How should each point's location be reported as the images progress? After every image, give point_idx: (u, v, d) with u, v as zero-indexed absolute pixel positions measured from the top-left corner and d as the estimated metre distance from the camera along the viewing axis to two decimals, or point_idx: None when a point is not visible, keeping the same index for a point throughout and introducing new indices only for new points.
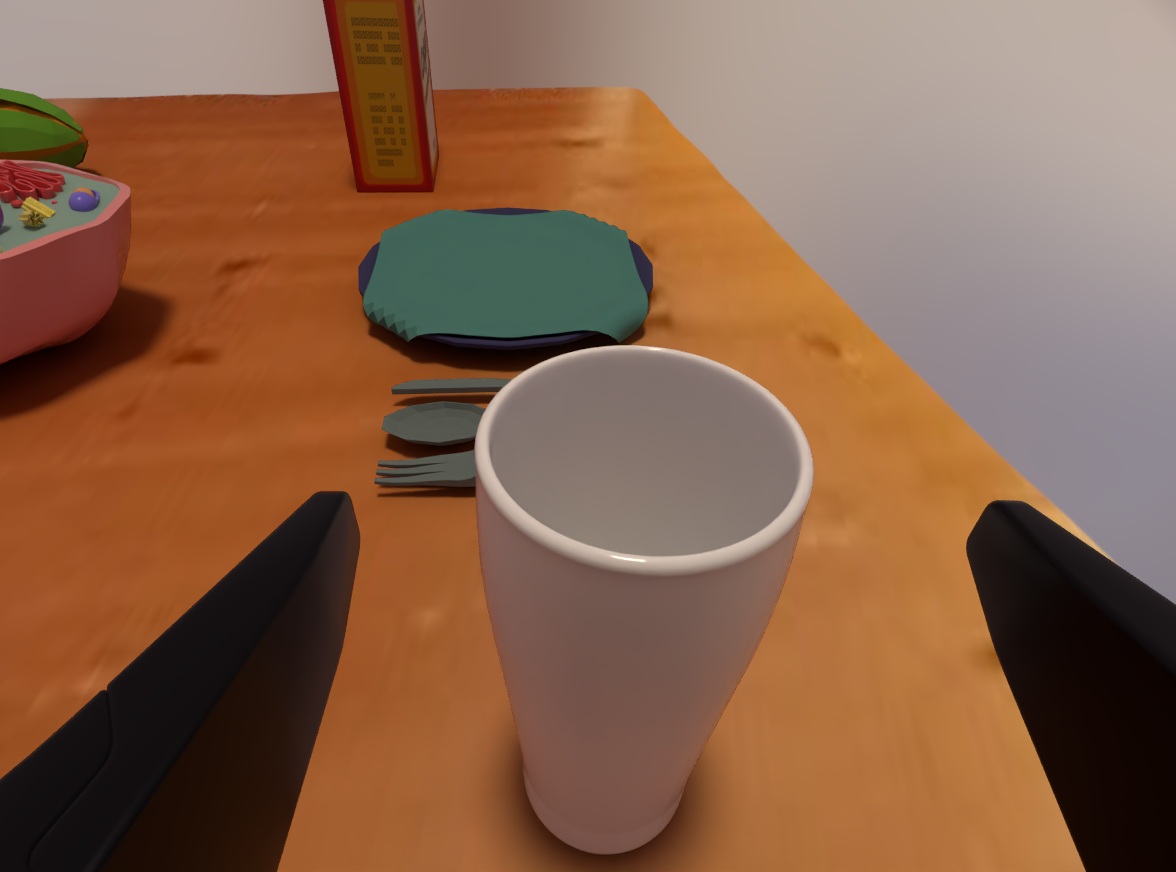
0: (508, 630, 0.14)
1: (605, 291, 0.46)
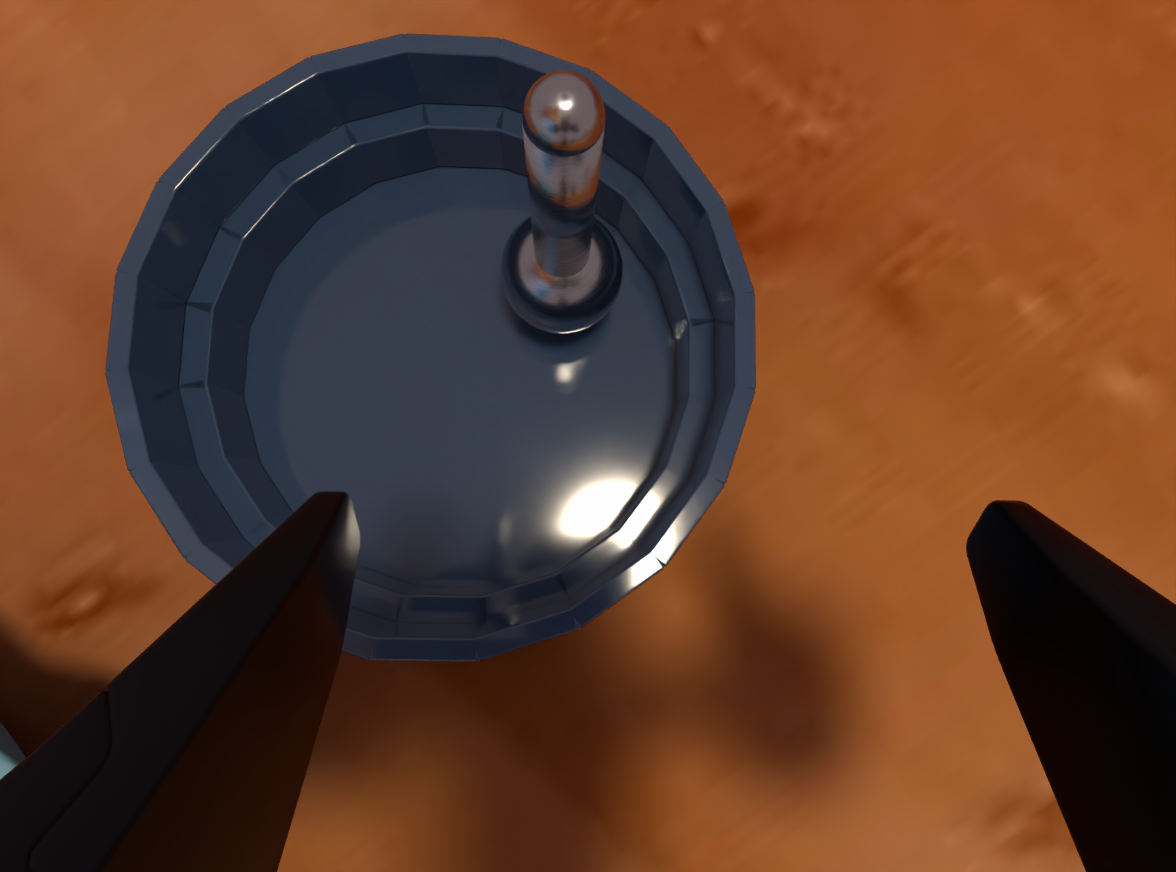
0: None
1: None
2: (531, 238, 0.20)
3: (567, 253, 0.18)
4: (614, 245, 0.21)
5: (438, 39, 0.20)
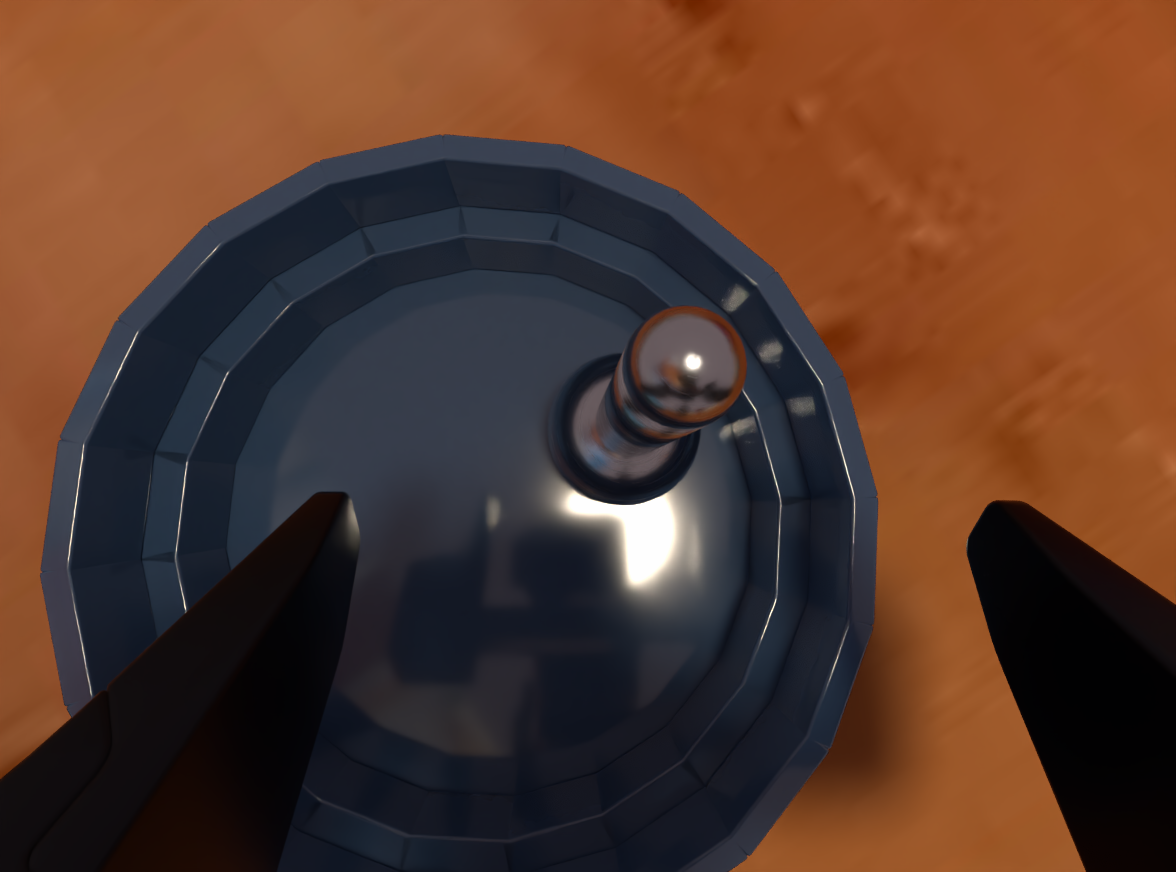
0: None
1: None
2: (592, 403, 0.16)
3: (645, 452, 0.14)
4: None
5: (486, 144, 0.15)
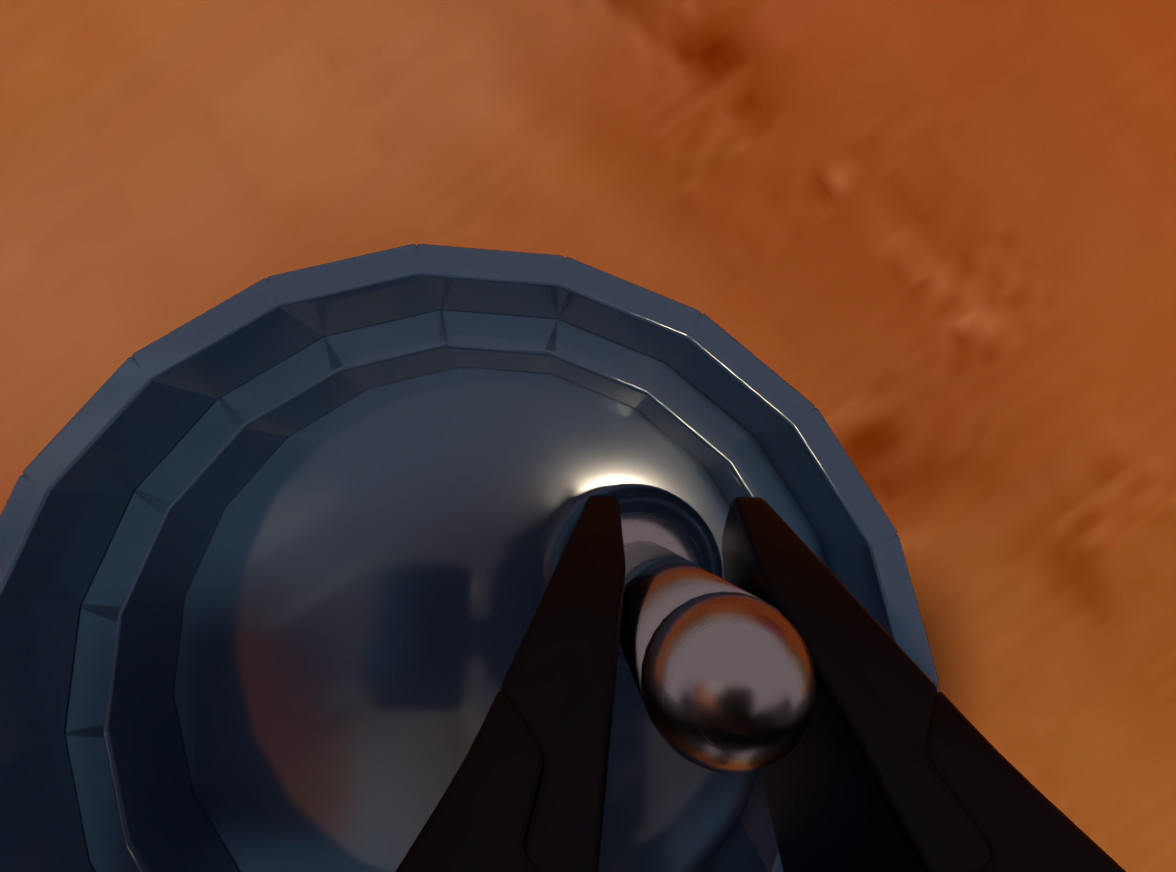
0: None
1: None
2: None
3: None
4: (715, 556, 0.14)
5: (468, 255, 0.13)
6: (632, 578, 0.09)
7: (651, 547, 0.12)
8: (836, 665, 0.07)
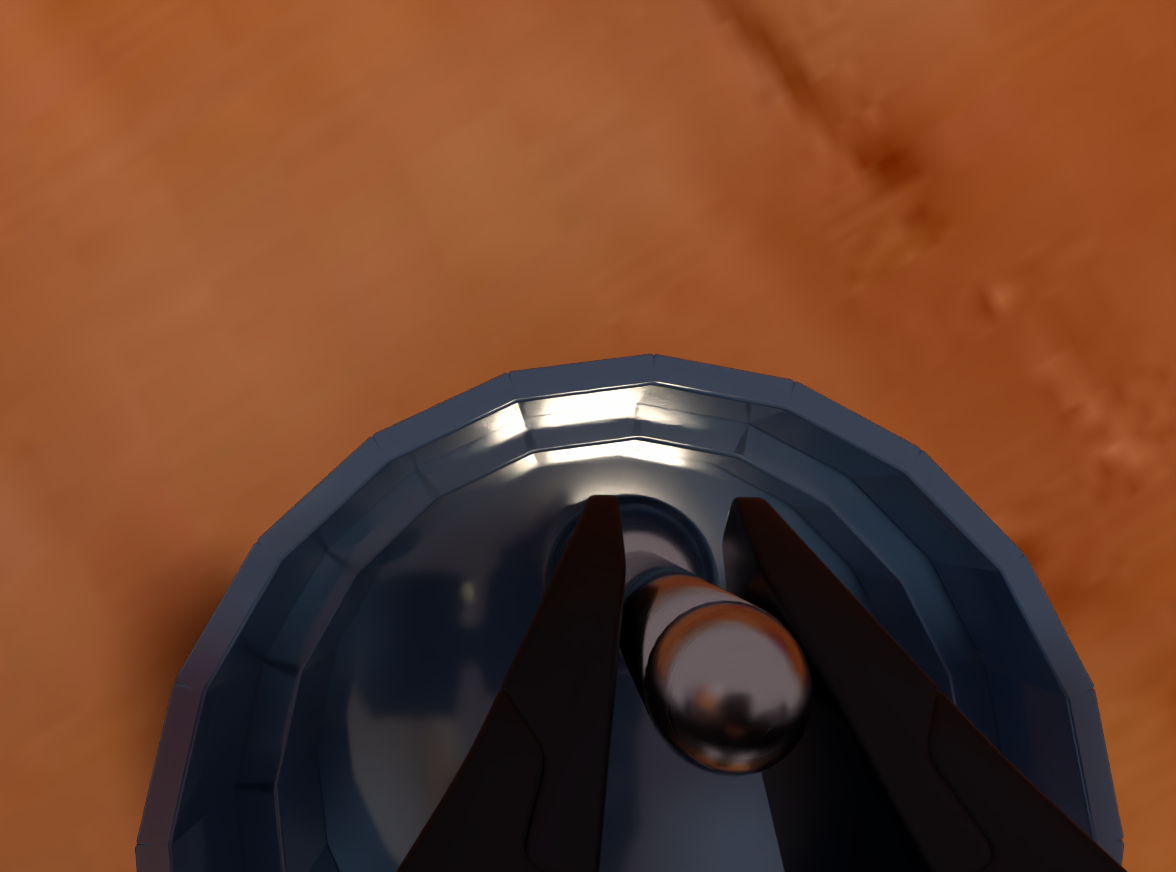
0: None
1: None
2: None
3: None
4: (662, 511, 0.14)
5: (702, 370, 0.13)
6: None
7: None
8: (837, 665, 0.07)
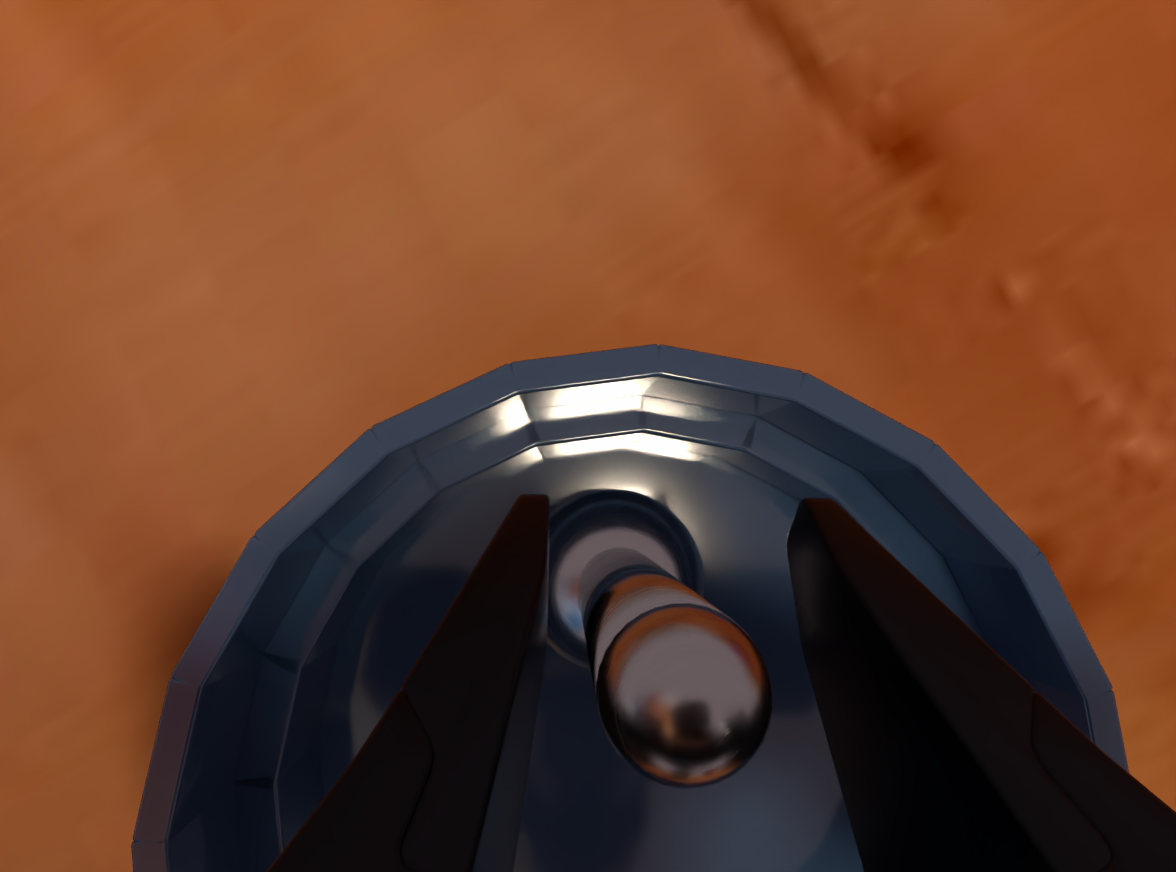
0: None
1: None
2: (578, 619, 0.13)
3: None
4: (637, 503, 0.14)
5: (709, 361, 0.13)
6: None
7: (585, 580, 0.11)
8: (931, 666, 0.07)
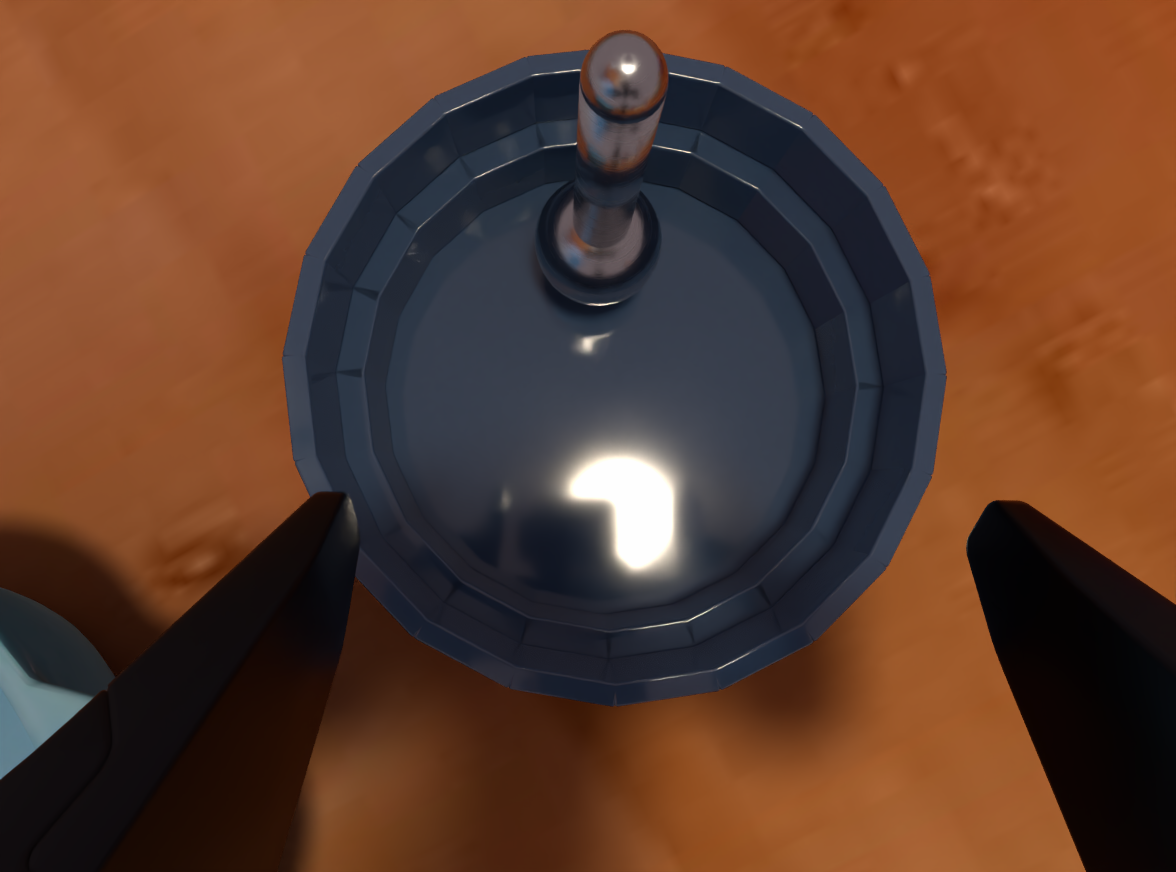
0: None
1: None
2: (572, 239, 0.19)
3: (635, 204, 0.17)
4: None
5: None
6: (577, 165, 0.15)
7: None
8: None
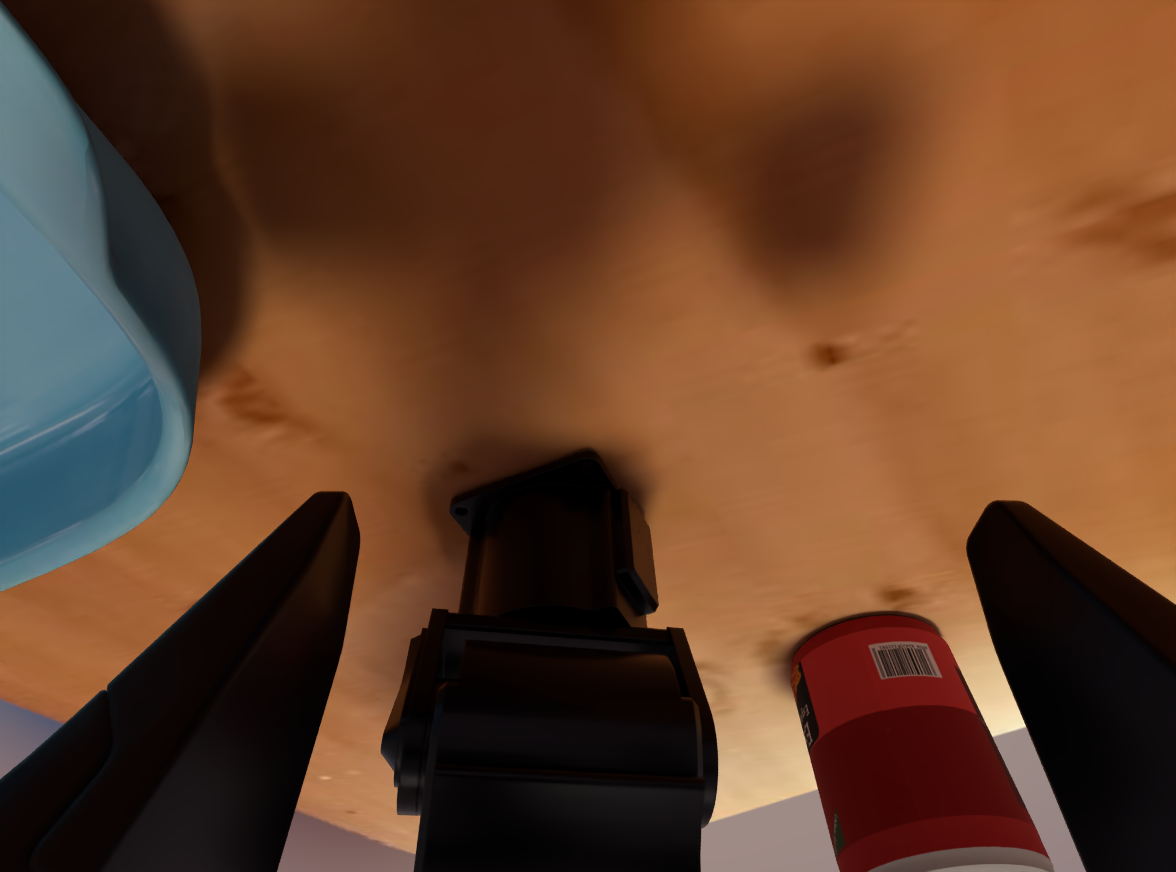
0: None
1: None
2: None
3: None
4: None
5: None
6: None
7: None
8: None
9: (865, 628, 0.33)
